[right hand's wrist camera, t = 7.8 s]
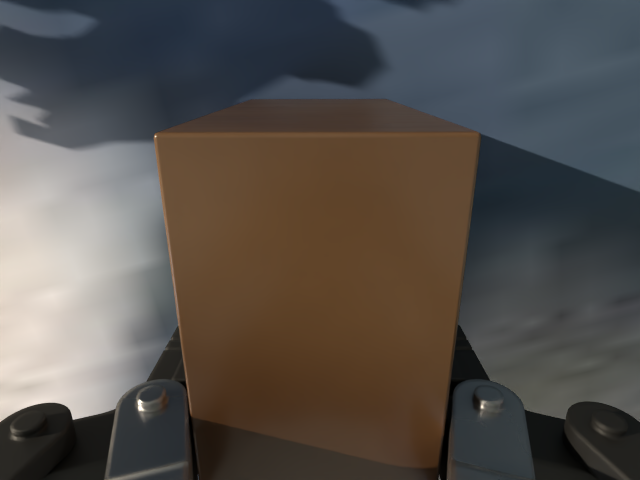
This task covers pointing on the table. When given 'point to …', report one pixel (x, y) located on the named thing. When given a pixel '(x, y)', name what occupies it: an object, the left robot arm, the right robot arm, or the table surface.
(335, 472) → the post
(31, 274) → the table surface
